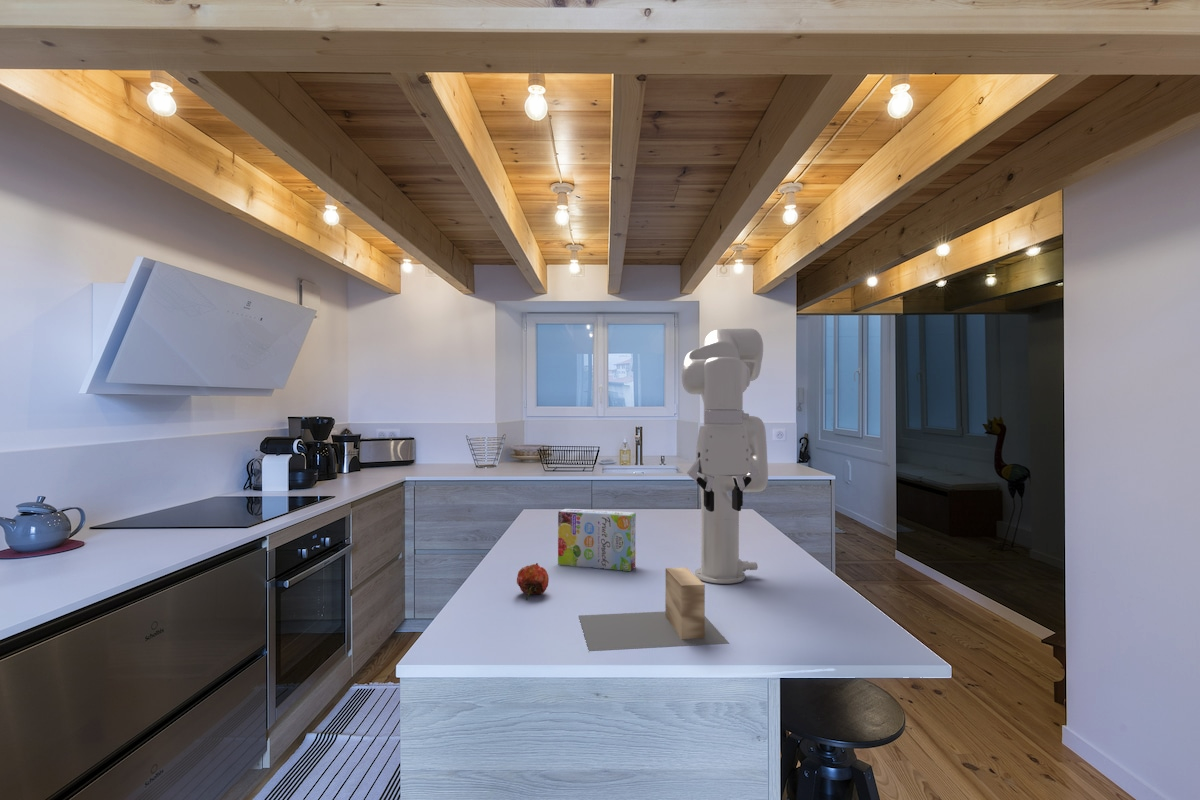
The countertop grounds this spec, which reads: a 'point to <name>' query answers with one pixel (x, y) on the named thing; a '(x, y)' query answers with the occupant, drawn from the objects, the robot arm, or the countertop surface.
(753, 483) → the robot arm
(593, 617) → the mat
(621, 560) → the snack box
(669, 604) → the slab
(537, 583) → the pomegranate
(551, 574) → the countertop surface
